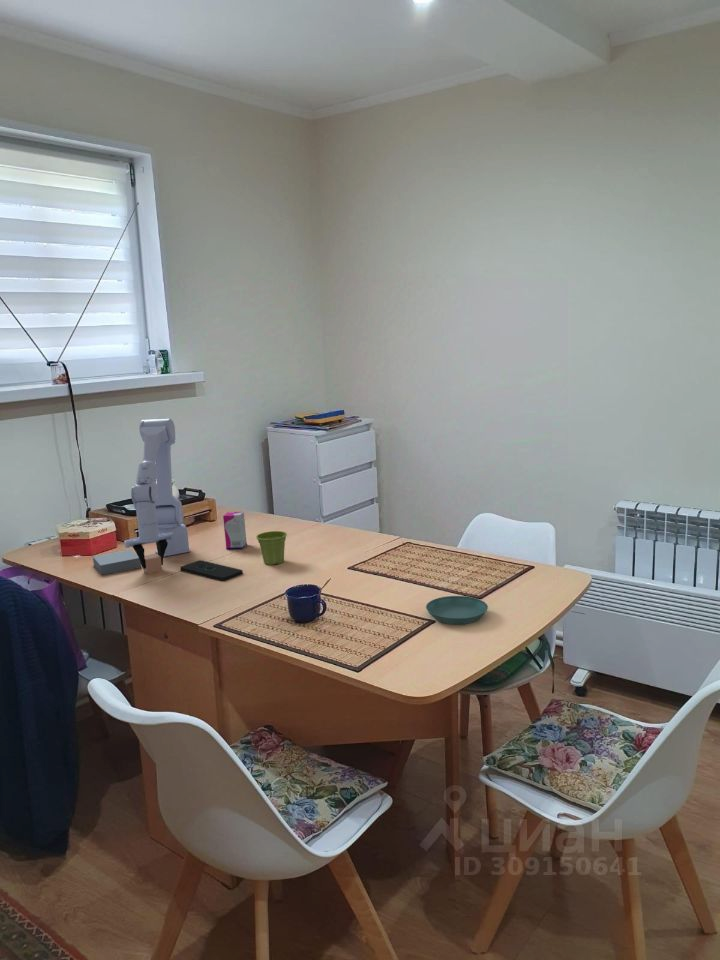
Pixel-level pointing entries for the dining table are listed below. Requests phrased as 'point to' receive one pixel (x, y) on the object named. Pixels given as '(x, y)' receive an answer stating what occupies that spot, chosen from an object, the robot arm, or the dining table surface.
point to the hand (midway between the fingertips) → (152, 566)
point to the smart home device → (211, 570)
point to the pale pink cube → (153, 563)
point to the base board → (116, 561)
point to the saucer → (457, 609)
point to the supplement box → (235, 530)
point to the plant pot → (272, 546)
